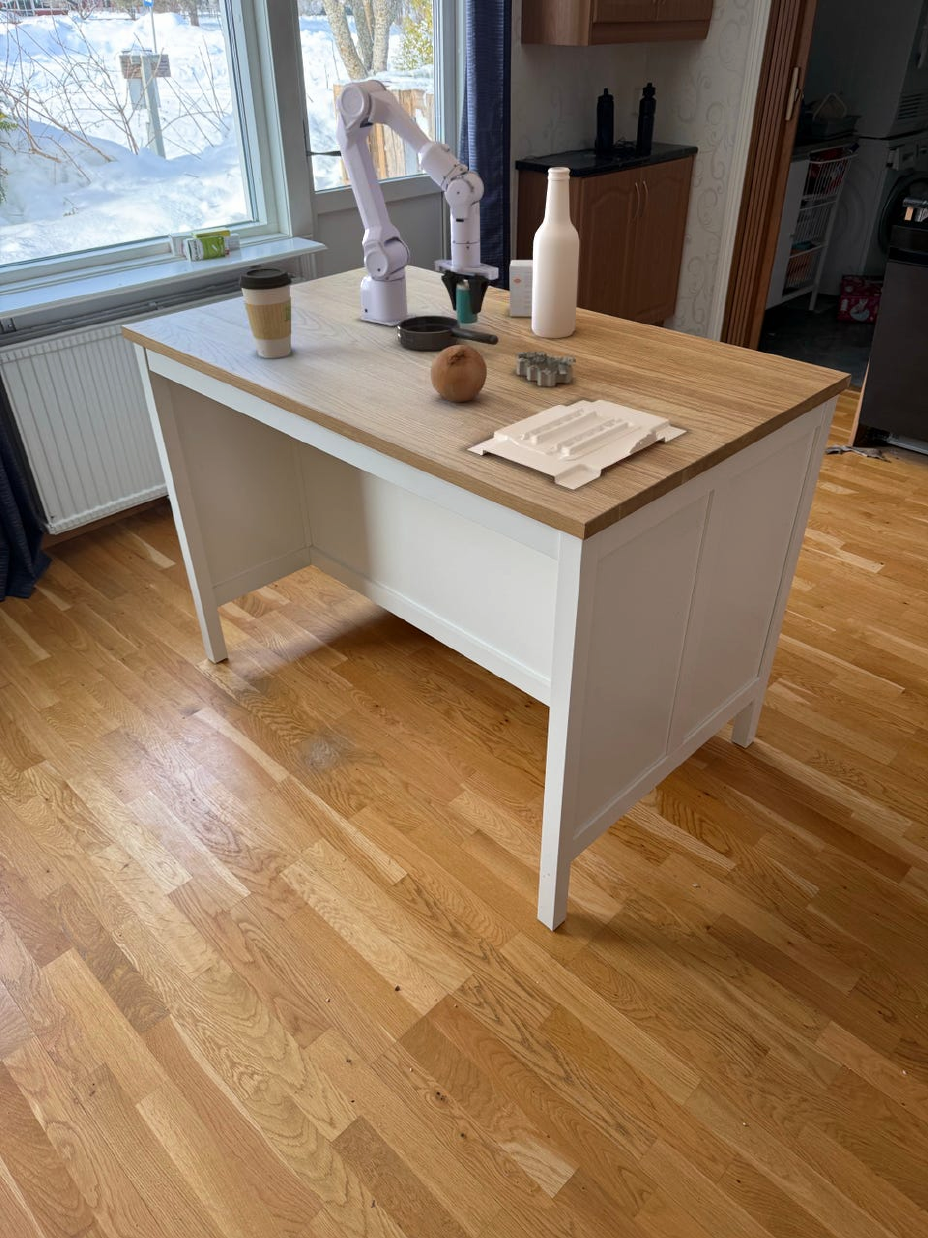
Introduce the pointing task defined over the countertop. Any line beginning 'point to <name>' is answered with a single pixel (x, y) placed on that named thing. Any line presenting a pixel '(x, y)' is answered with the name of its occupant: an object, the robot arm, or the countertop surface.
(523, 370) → the egg carton
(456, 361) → the onion
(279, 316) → the coffee cup
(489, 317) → the countertop surface
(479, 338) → the pan handle
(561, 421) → the tray
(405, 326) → the pan
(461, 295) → the salt shaker
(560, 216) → the alcohol
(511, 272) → the small box
